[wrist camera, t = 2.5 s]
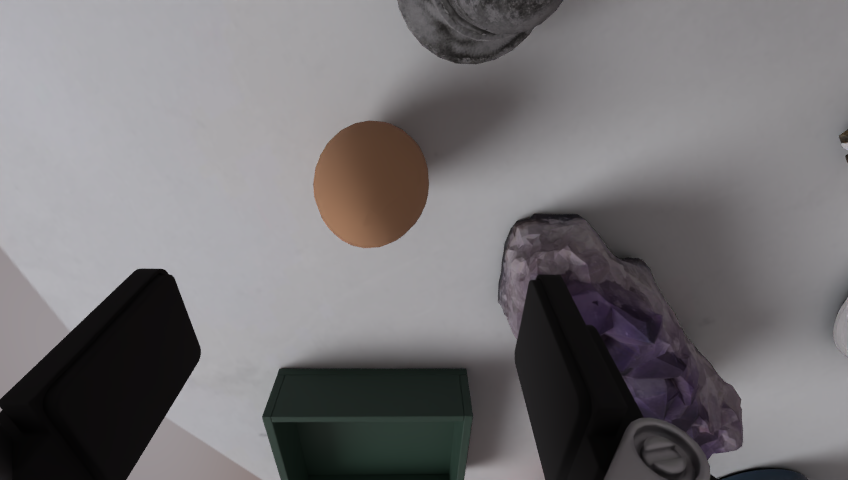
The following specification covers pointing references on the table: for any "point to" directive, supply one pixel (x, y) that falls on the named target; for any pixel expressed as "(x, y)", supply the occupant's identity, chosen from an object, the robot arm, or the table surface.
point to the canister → (767, 475)
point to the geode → (624, 325)
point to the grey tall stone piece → (474, 25)
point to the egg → (371, 184)
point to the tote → (370, 424)
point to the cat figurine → (844, 141)
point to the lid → (842, 329)
